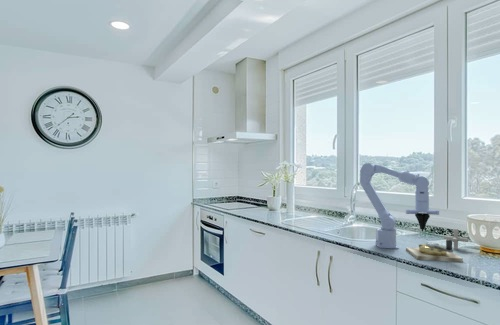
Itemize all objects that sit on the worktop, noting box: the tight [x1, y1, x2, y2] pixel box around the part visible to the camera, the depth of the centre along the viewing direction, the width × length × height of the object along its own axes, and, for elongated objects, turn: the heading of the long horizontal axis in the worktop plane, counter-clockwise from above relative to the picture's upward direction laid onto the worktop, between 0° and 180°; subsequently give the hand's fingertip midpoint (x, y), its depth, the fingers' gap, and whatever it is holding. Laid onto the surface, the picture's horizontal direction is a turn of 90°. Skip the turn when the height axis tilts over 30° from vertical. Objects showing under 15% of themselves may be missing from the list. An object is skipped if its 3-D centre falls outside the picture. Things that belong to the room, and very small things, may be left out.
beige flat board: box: [405, 246, 464, 263], centre depth 144 cm, size 18×16×2 cm
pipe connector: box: [443, 228, 469, 250], centre depth 156 cm, size 10×10×10 cm
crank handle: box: [418, 239, 454, 256], centre depth 141 cm, size 16×11×8 cm
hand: (422, 229), depth 153 cm, fingers closed
